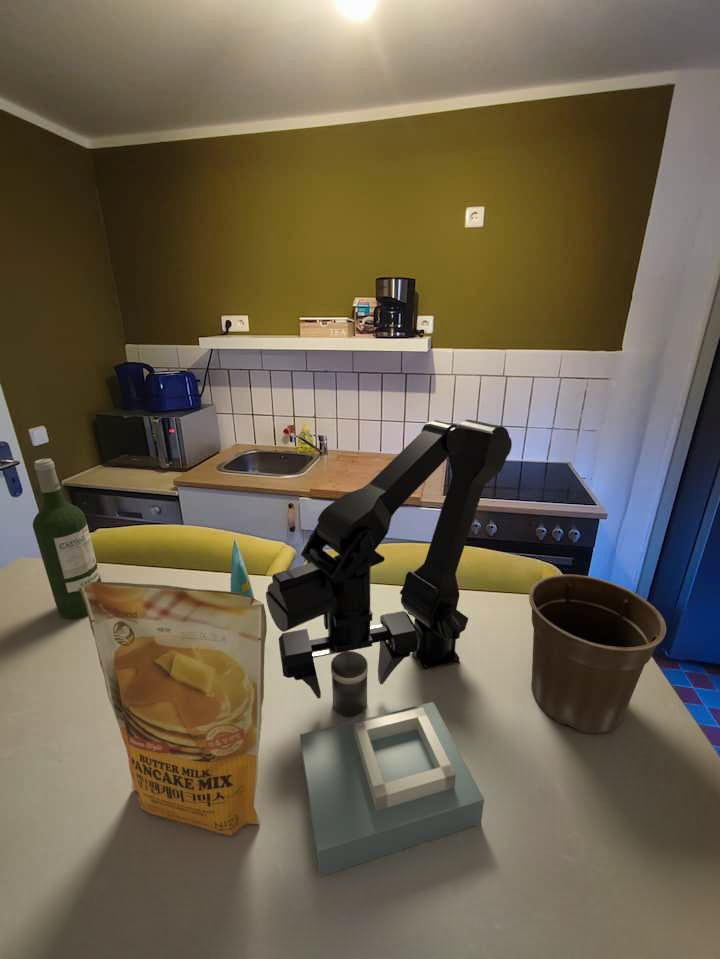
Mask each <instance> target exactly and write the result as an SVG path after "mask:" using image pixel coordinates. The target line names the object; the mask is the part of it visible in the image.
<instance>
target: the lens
mask: <svg viewBox="0 0 720 959" xmlns="http://www.w3.org/2000/svg"><path fill="white" fill-rule="evenodd" d="M330 662H331V663H330V673H331V685H332V687H331V689H332V691H331V692H332V706H333V709H334V712H336V713H337V714H338V715H340V716H341V717H346V718H355V717H357V716H360V715H361V714H363V713H364V711H365V710H366V709H367V706H368V673H369V672H368V671H369V663H368V662H369V661H368V660H367V658H366V657H365V656H364V655H363V654H361V653H360V652H357V651H355V650H351V651H346V652H341V653H337V654H335V655H334V657H333V658H332V659H331V661H330Z"/></svg>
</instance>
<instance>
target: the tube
mask: <svg viewBox="0 0 720 959" xmlns="http://www.w3.org/2000/svg"><path fill="white" fill-rule="evenodd" d="M230 565H231V566H230V568H231V570H230V592H237V593H241V594H245V595H249V596H252V597H253V598H254V599H255V596H254V592H253V588H252V584H251V580H250V577H249V576H250V575H249V573H248V571H247V567H246V565H245V561H244V559H243V555H242V553H241V550H240V547H239V545H238V542H237V540H236V537H235V536H234V541H233V545H232V552H231V564H230Z"/></svg>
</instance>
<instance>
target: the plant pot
mask: <svg viewBox="0 0 720 959" xmlns="http://www.w3.org/2000/svg"><path fill="white" fill-rule="evenodd" d="M528 600H529V605H530V607H531V624H532V627H533V636H532V660H531V661H532V664H531V666H532V667H531V682H530V683H531V684H530V685H531V692H532V695H533V697H534V699H535V700H536V703H537V704H538V706H540V708H541V709H542V710H543V711H544V712H545V713H546V714H547V715H548V716H549V717H550V718H552V719H553V720H555V721H556V722H557V723H559V724H561V725H562V724H563V725H569V726H570V727H572V728H574V729H575V730H576V731H577V732H580V733H585V734H594V735H596V734H605V733H608V732H611V731H613V730H615V729H616V728H618V727H619V726H620V725H621V723H622V721H623V719H624V716H625V714H626V711H627V709H628V706H629V704H630V701H631V699H632V697H633V695H634V694H633V693H634V692H635V689H636V688H637V687H636V686H637V684H638V682H639V679H640V677H641V675H642V673H643V670H644V667H645V665H646V664H647V663H648V662H649V661H650V660H651V659H652V656H653V654H654V651H655V650H656V648H657V646H659V645H660V644H661V643H662V642H663V640H664V638H665V636H666V633H667V625H666V621H665V619H664V617H663V615H662V614H661V613H660V611H659V610H657V609H656V607H655V606H653V605H652V604H651V603H650V602H649V601H647V600H646V599H644V598H643V597H642V596H640V595H639V594H637V593H636V592H634V591H631V590H630V589H628V588H626V587H623V586H621V585H619V584H616V583H614V582H611V581H608V580H604V579H601V578H597V577H592V576H588V575H581V574H569V573H568V574H565V573H564V574H556V575H555V574H554V575H549V576H547V577H544V578H541V579H540V580H537V581H536V582H534V584H533V585H532V586H531V587H530V589H529V593H528Z"/></svg>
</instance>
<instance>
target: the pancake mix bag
mask: <svg viewBox="0 0 720 959" xmlns="http://www.w3.org/2000/svg"><path fill="white" fill-rule="evenodd" d="M78 590H79V591H80V593H81V595H82V598H83V600H84V603H85V606H86V609H87V613H88V615H87V616H88V621H89V626H90V629H91V633H92V635H93V637H94V642H95V645H96V646H95V647H96V648H97V649H96V650H97V654H98V660H99V665H100V668H101V671H102V673H103V677H104V683H105V690H106V692H107V697H108V700H109V702H110V705H111V708H112V710H113V713H114V716H115V719H116V722H117V724H118V727H119V730H120V734H121V735H120V736H121V739H122V741H123V744H124V746H125V749H126V753H127V757H128V758H127V759H128V767H129V768H128V769H129V772H130V777H131V789H132V790H133V791H135V792H136V793H138V803H139V806H140V808H141V809H142V810H144V811H145V812H146V813H148V814H149V815H151V816H154V817H158V818H162V819H165V820H169V821H172V822H175V823H179V824H183V825H187V826H191V827H195V828H198V829H202V830H204V831H207V832H210V833H214V834H218V835H221V836H227V837H228V836H230V837H235V836H236V835H237V834H238V833H239V832H241V830H243V828H244V827H246V826H247V825H261V822H260V819H259V816H258V813H257V811H256V809H255V799H256V793H257V784H258V783H257V782H258V775H259V774H258V771H259V770H258V769H259V753H260V741H261V740H260V739H261V729H262V722H263V721H262V717H263V716H262V713H263V712H262V710H263V703H264V699H265V647H266V639H267V638H266V637H267V632H268V629H267V628H268V627H267V626H268V625H267V613H266V608H265V604H264V602H262V601H260V600H258V599H256V598H255V597H254V598H253V597H252V596H249V595H245V594H241V593H237V592H231V591H225V590H215V589H214V590H213V589H201V588H200V589H197V588H195V589H194V588H188V587H181V586H180V587H179V586H174V585H168V584H167V585H165V584H152V583H150V584H149V583H148V584H147V583H129V582H115V581H112V582H111V581H101V582H91V583H89V584H87V585H85V586H83V587H81V588H79V589H78Z"/></svg>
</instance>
